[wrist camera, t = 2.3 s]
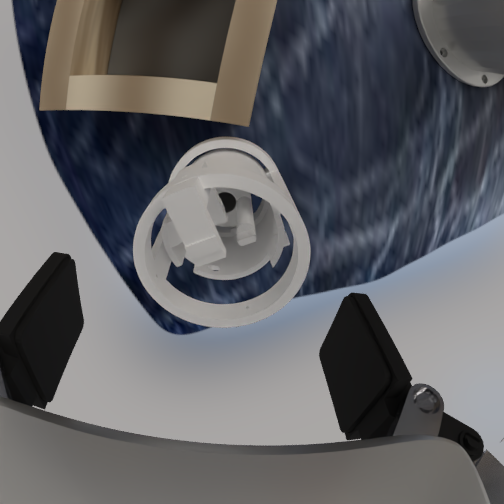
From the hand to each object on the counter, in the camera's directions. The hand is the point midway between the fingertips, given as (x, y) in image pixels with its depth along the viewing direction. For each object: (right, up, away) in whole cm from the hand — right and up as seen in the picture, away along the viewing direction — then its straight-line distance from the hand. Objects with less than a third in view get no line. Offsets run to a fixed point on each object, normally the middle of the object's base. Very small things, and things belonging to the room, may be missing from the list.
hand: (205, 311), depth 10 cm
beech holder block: (-4, +19, +8) cm, 21 cm away
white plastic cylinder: (0, +9, +14) cm, 17 cm away
